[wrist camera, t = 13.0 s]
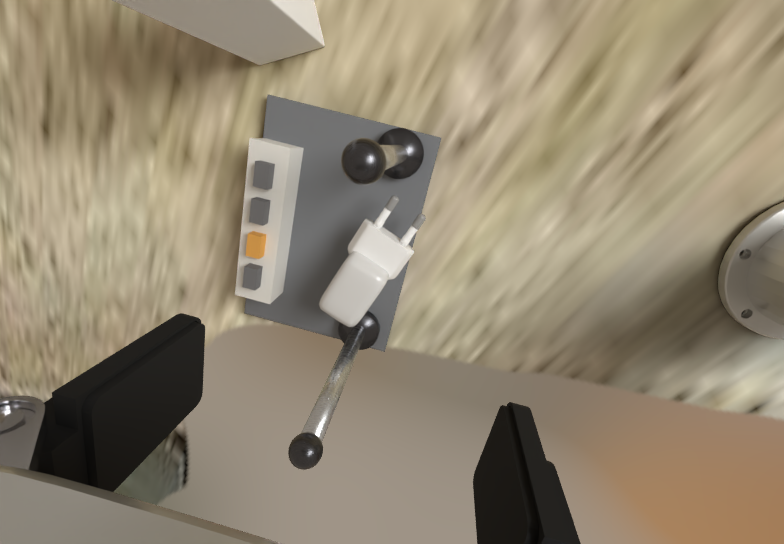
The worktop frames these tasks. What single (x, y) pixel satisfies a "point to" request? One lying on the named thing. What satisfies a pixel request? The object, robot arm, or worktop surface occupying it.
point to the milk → (242, 24)
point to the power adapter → (368, 267)
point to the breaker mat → (315, 214)
